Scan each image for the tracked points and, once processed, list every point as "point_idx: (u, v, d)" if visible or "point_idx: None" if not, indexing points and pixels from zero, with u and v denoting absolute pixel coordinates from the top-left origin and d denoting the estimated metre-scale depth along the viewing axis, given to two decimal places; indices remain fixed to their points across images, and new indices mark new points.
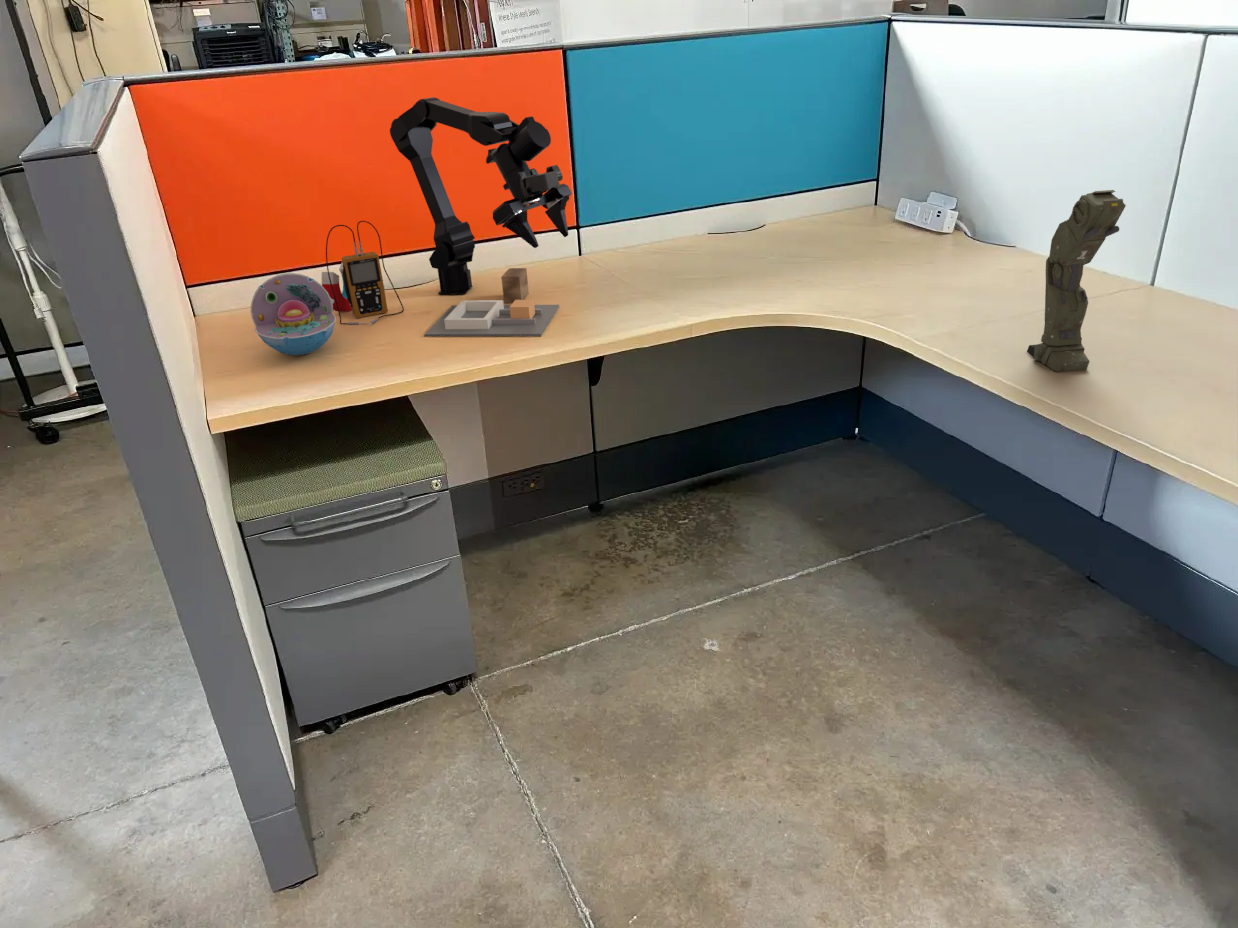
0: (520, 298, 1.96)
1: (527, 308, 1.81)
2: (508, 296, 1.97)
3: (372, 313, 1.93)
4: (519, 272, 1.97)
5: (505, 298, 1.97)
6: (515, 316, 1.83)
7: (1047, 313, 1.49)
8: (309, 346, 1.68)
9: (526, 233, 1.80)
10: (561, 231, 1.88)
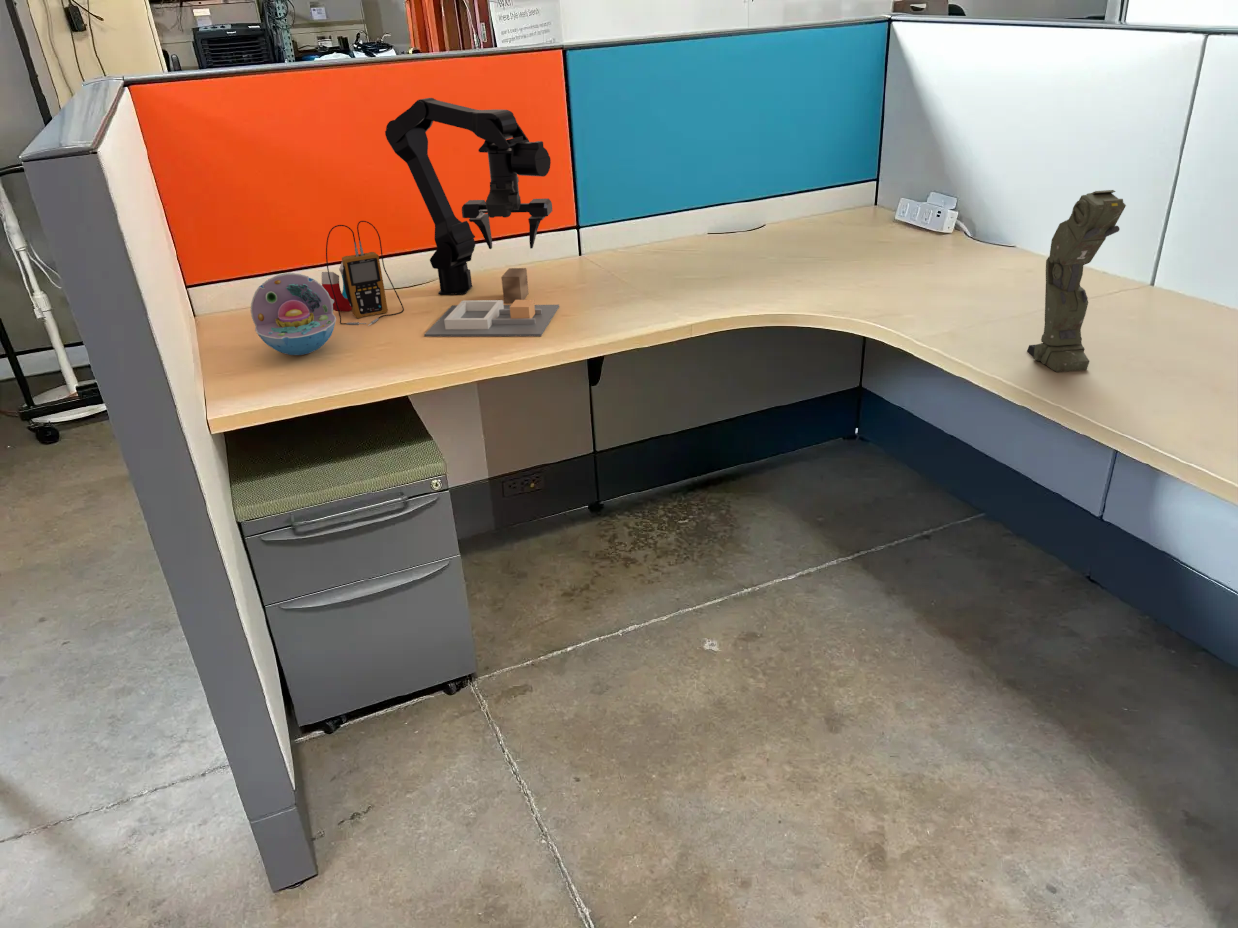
0: (520, 298, 1.96)
1: (527, 308, 1.81)
2: (508, 296, 1.97)
3: (372, 313, 1.93)
4: (519, 272, 1.97)
5: (505, 298, 1.97)
6: (515, 316, 1.83)
7: (1047, 313, 1.49)
8: (309, 346, 1.68)
9: None
10: None
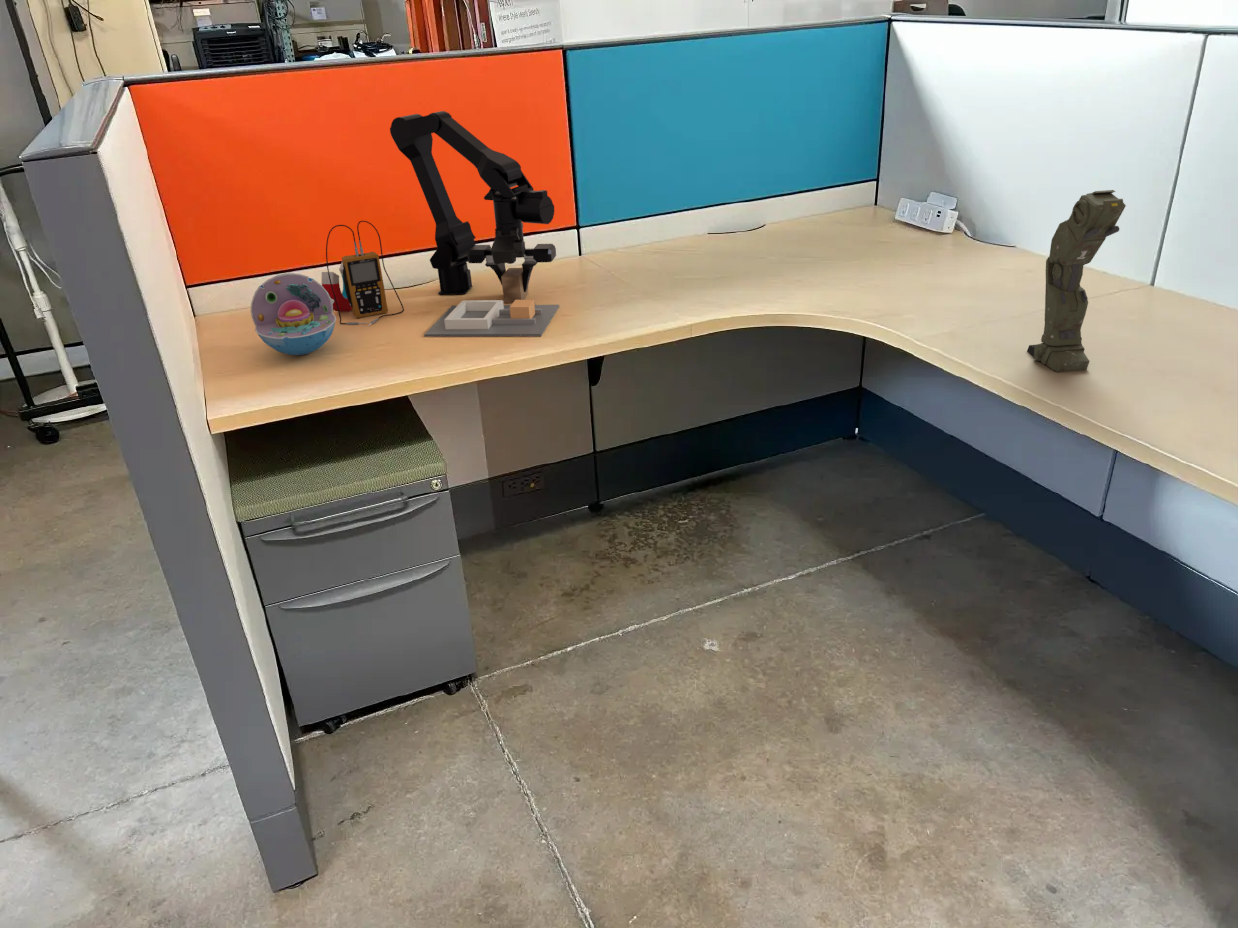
0: (520, 298, 1.96)
1: (527, 308, 1.81)
2: (508, 295, 1.96)
3: (372, 313, 1.93)
4: (519, 272, 1.97)
5: (505, 298, 1.97)
6: (515, 316, 1.83)
7: (1047, 313, 1.49)
8: (309, 346, 1.68)
9: None
10: None
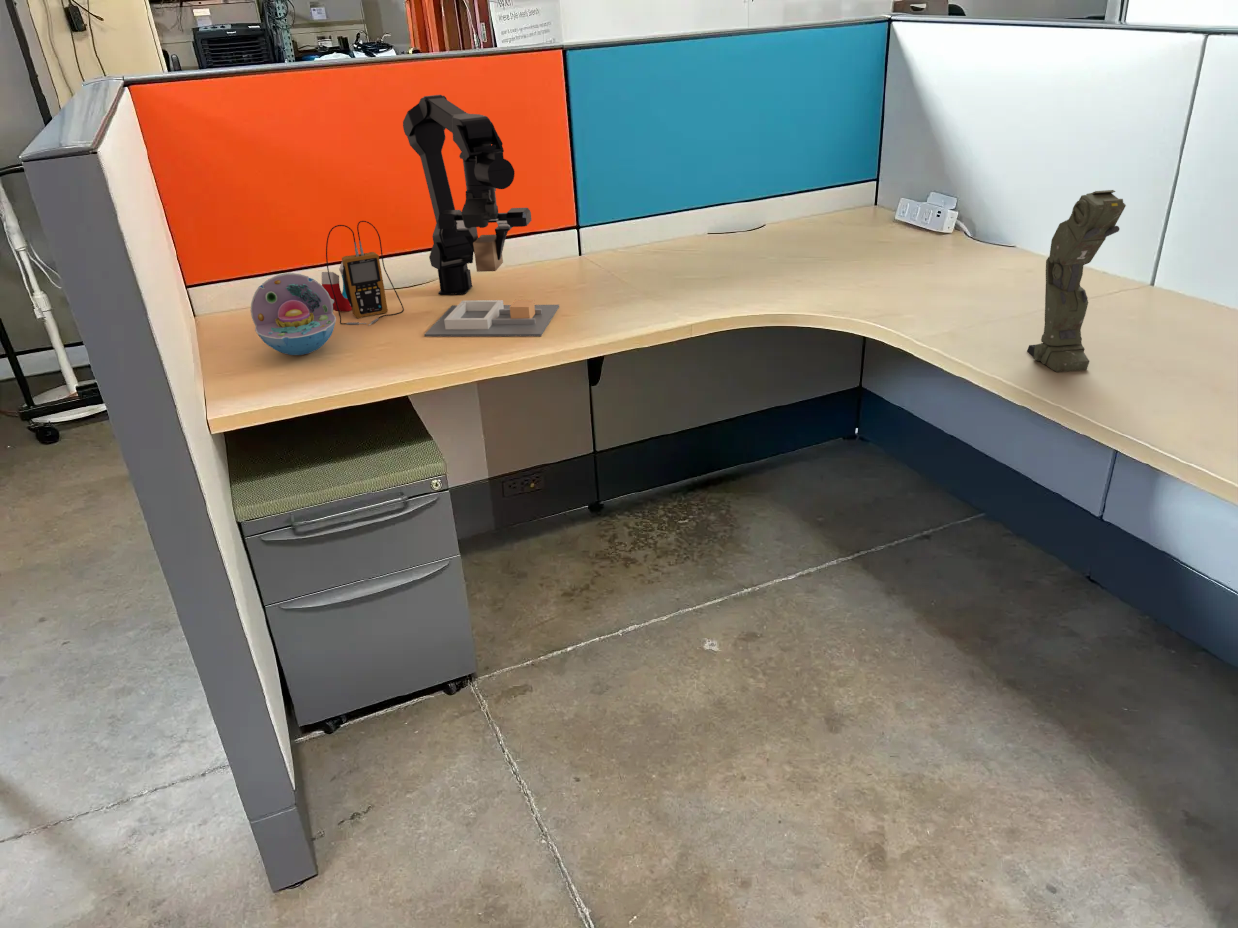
0: (494, 265, 1.84)
1: (527, 308, 1.81)
2: (481, 263, 1.84)
3: (372, 313, 1.93)
4: (492, 238, 1.85)
5: (478, 266, 1.85)
6: (515, 316, 1.83)
7: (1047, 313, 1.49)
8: (309, 346, 1.68)
9: None
10: None
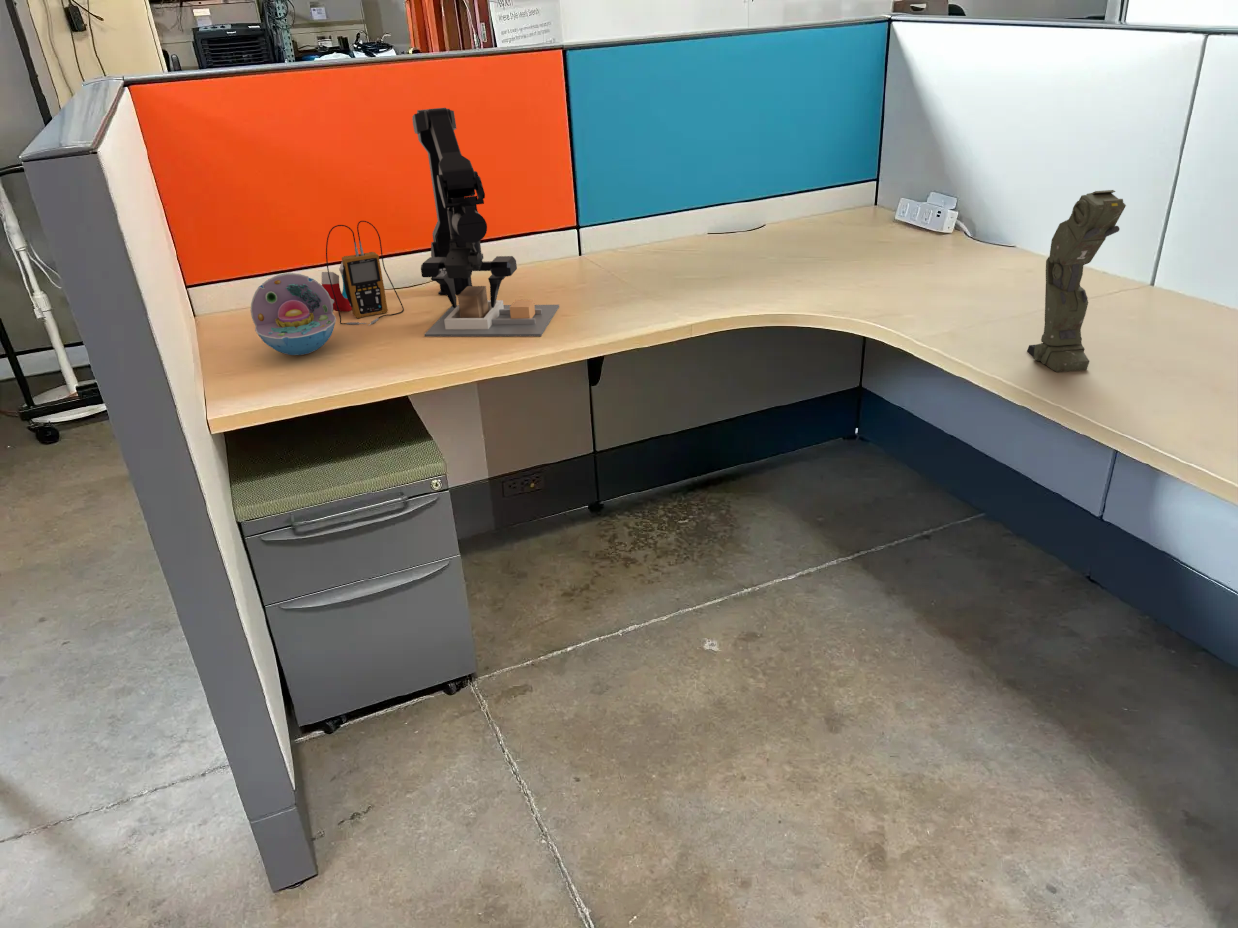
0: None
1: (527, 308, 1.81)
2: (466, 316, 1.83)
3: (372, 313, 1.93)
4: (477, 291, 1.84)
5: None
6: (515, 316, 1.83)
7: (1047, 313, 1.49)
8: (309, 346, 1.68)
9: None
10: None
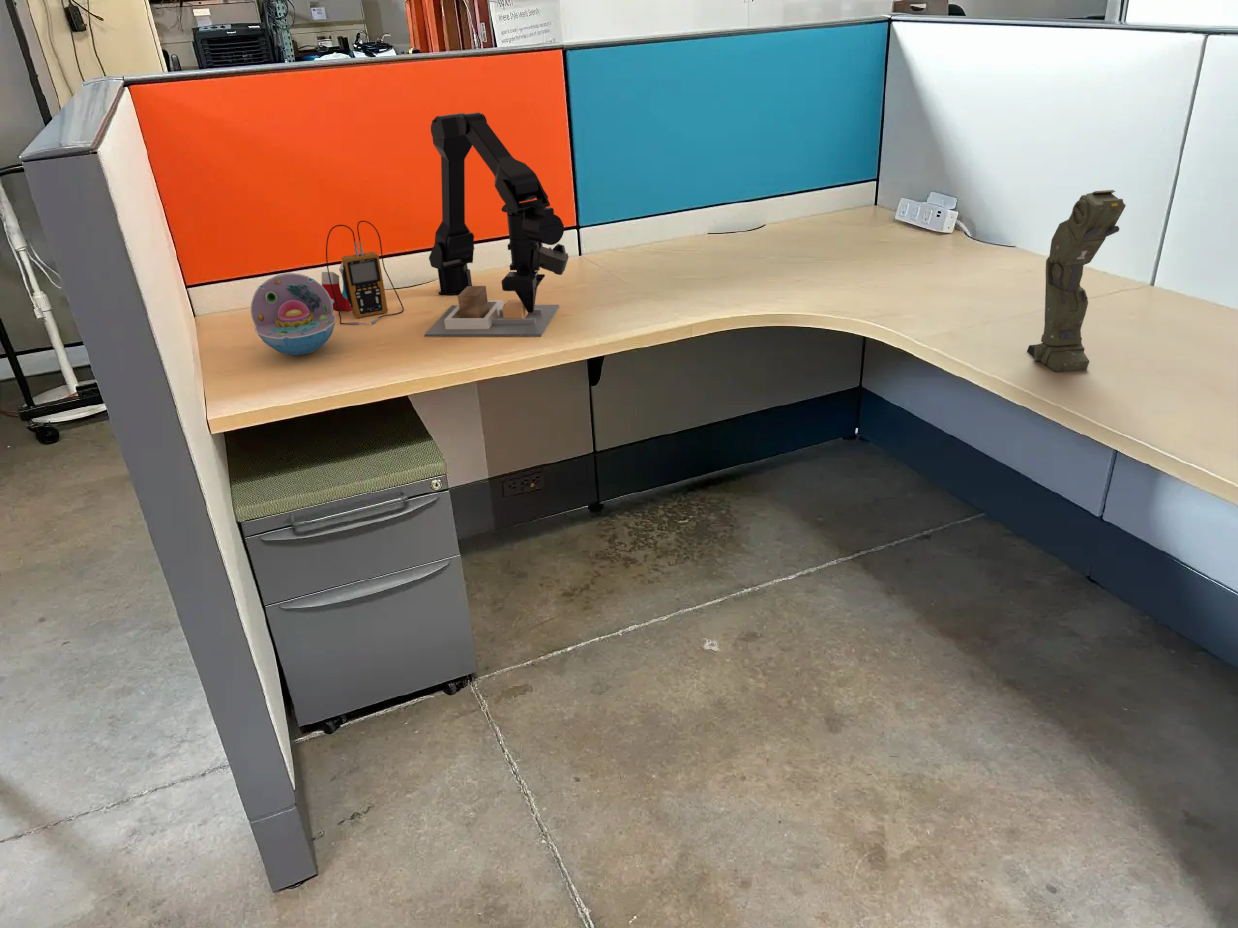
0: None
1: (520, 308, 1.82)
2: (466, 316, 1.83)
3: (372, 312, 1.93)
4: (477, 291, 1.84)
5: None
6: (508, 316, 1.83)
7: (1047, 313, 1.49)
8: (309, 346, 1.68)
9: (529, 298, 1.82)
10: None
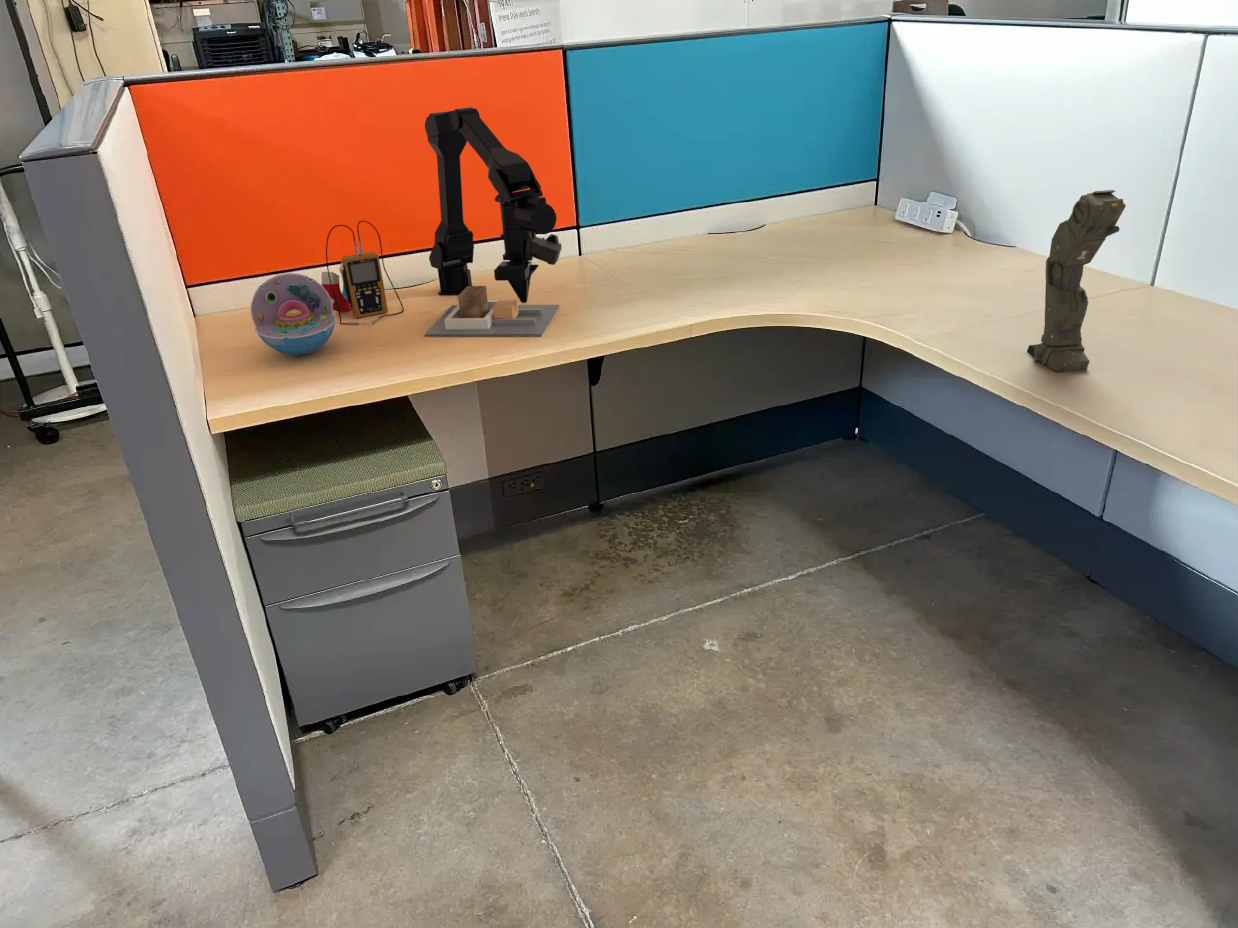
0: None
1: (510, 308, 1.82)
2: (466, 316, 1.83)
3: (372, 313, 1.93)
4: (477, 291, 1.84)
5: None
6: (498, 316, 1.83)
7: (1047, 313, 1.49)
8: (309, 346, 1.68)
9: (523, 288, 1.82)
10: None
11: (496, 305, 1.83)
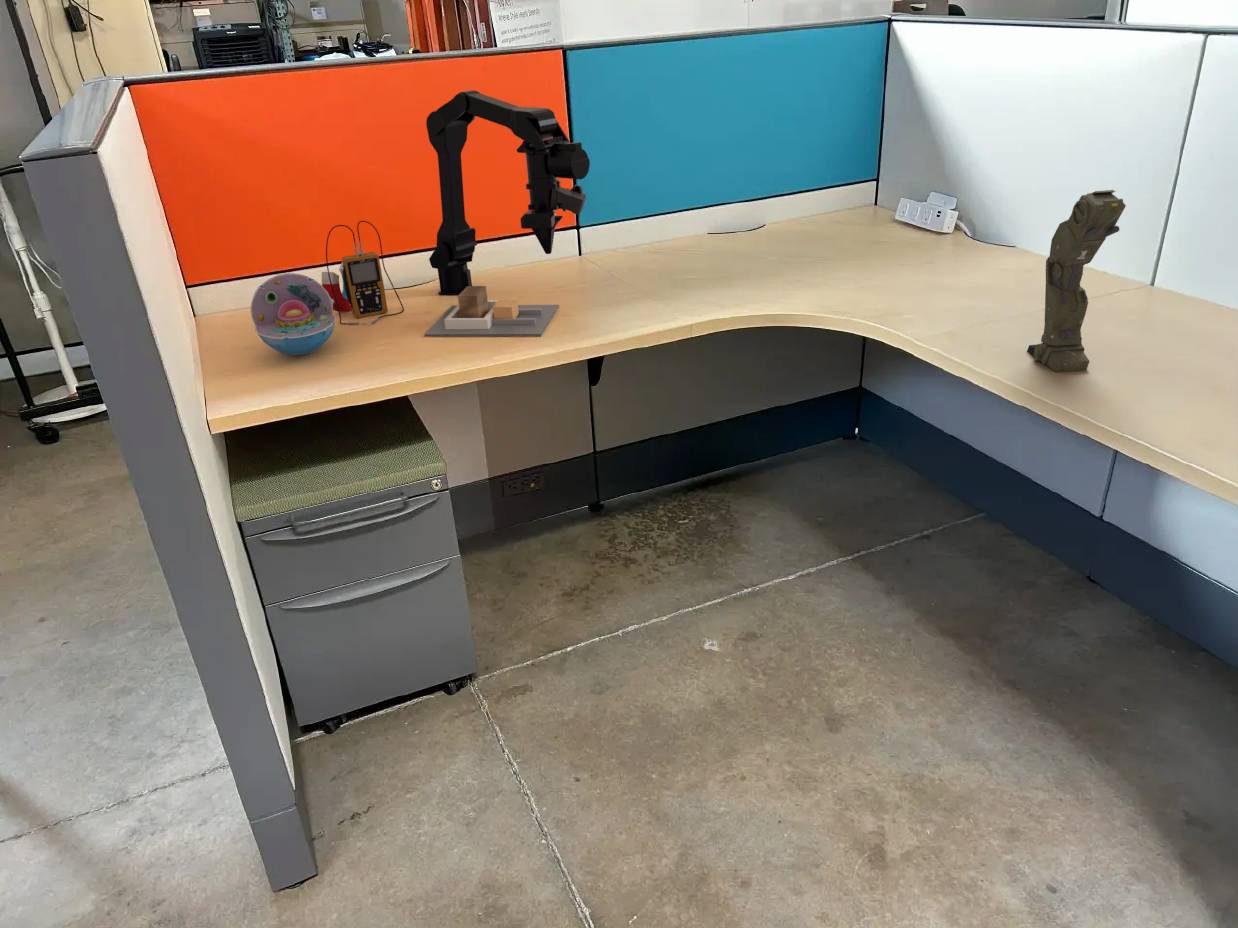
0: None
1: (510, 308, 1.82)
2: (466, 316, 1.83)
3: (372, 313, 1.93)
4: (477, 291, 1.84)
5: None
6: (498, 316, 1.83)
7: (1047, 313, 1.49)
8: (309, 346, 1.68)
9: (547, 239, 1.84)
10: None
11: (496, 305, 1.83)
